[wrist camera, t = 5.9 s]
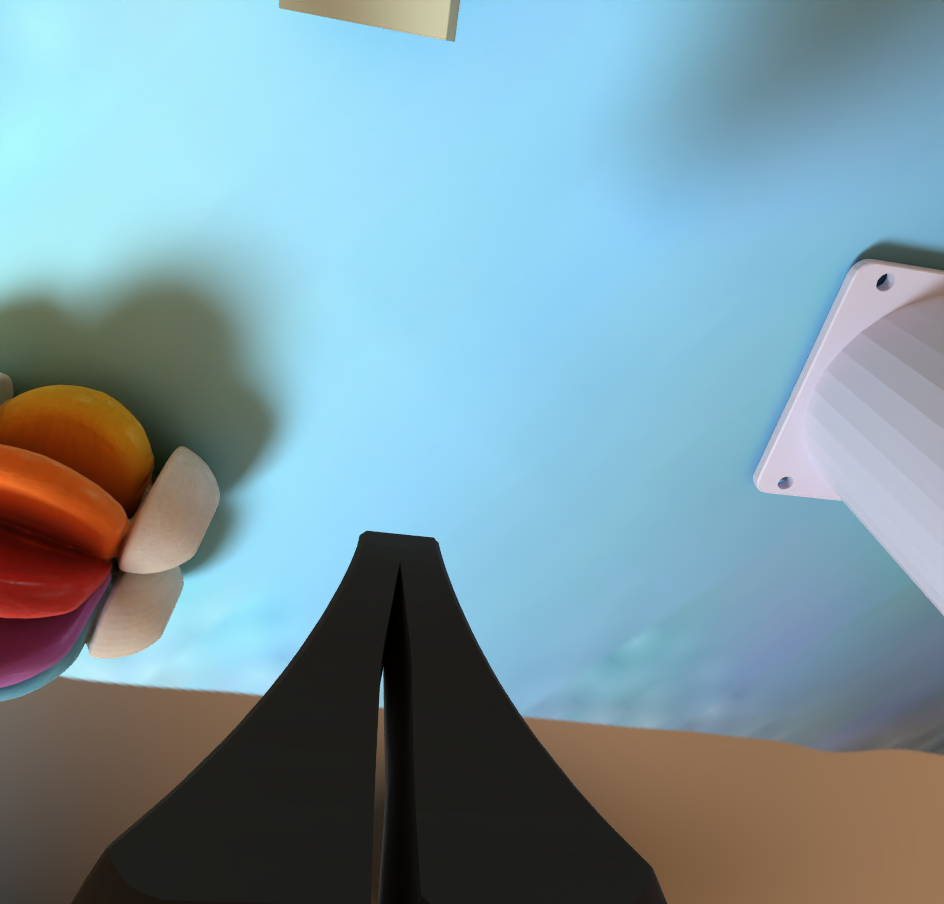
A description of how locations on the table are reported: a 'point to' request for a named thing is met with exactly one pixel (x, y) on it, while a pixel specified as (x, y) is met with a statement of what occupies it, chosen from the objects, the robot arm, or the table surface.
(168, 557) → the colorful rounded pieces cluster
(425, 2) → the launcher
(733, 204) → the table surface
